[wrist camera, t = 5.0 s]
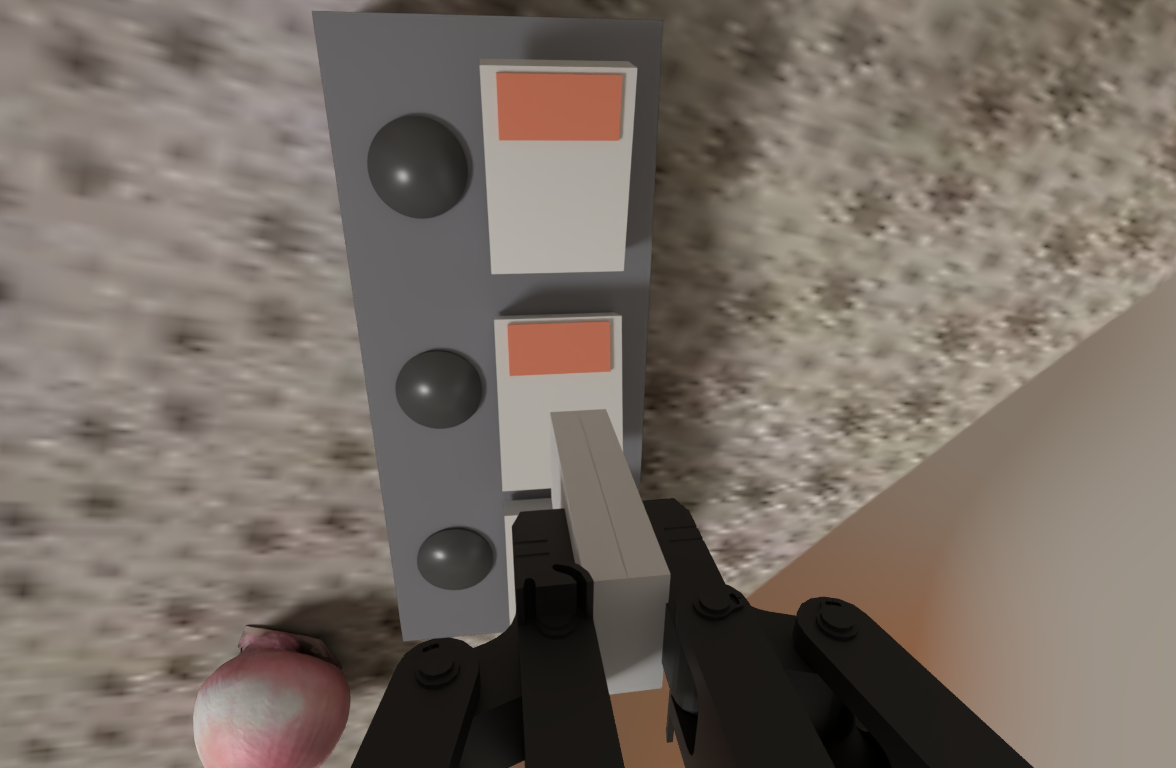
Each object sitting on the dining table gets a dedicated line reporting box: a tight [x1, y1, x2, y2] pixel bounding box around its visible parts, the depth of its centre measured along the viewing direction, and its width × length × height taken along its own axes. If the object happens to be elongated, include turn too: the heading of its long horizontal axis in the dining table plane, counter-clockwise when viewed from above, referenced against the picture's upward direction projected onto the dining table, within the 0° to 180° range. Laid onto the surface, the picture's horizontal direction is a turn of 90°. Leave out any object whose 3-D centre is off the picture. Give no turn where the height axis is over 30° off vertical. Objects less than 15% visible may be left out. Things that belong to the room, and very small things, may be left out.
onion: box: [193, 626, 350, 768], centre depth 34 cm, size 8×8×7 cm
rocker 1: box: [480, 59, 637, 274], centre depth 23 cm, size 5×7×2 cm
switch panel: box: [312, 11, 663, 642], centre depth 29 cm, size 12×28×4 cm, turn 0°
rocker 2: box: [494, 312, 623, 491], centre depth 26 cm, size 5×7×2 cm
